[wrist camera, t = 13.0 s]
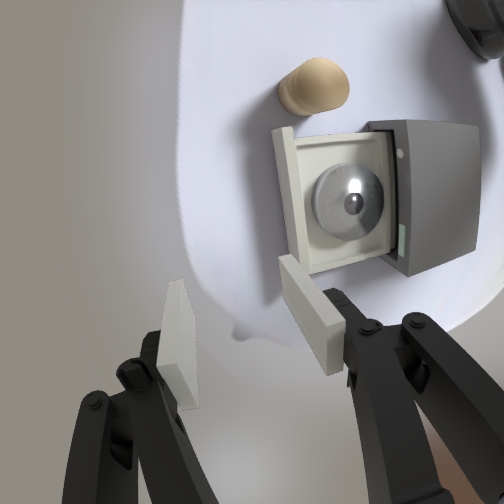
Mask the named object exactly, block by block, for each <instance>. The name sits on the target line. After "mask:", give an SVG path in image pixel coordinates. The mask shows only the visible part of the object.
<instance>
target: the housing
mask: <svg viewBox="0 0 504 504" xmlns="http://www.w3.org/2000/svg"><path fill="white" fill-rule="evenodd" d="M368 125H369V132H391V140H392V150H393V162H394V178H395V248H392V249H390V253H386V254H383V255H379V256H378V257H380V258H381V259H383V260H384V261H386V262H387V263H388V264H390V265H391V266H393V267H394V268H396V269H397V270H398V271H400V272H401V273H403V274H404V275H405V276H407V277H410V276H413V275H415V274H418V273H421V272H423V271H426V270H428V269H431V268H434V267H436V266H439V265H441V264H444V263H446V262H448V261H451V260H453V259H456V258H458V257H461V256H463V255H465V254H468V253H470V252H472V251H474V250H475V249H476V242H477V234H478V224H479V213H480V197H481V149H480V134H479V126H476V125H468V124H460V123H450V122H439V121H426V120H384V121H369V122H368Z"/></svg>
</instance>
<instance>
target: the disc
mask: <svg viewBox="0 0 504 504" xmlns="http://www.w3.org/2000/svg"><path fill="white" fill-rule="evenodd" d="M311 208H312V212H313V215H314V218H315V220H316V222H317V223H318V224H319V226H320V227H321V228H322V229H324V230H325V231H326V232H328V233H329V234H331V235H332V236H333V237H335V238H337V239H340V240H343V241H354V240H358V239H360V238H363V237H364V236H366V235H367V234H369V233H370V232H371V231H372V230H373V229H374V228H375V227H376V225H377V224H378V222H379V220H380V218H381V215H382V213H383V209H384V191H383V187H382V184H381V182H380V180H379V179H378V177H377V176H376V175H375V174H374V173H373V172H372V171H371V170H370V169H368V168H366V167H364V166H361V165H355V164H349V163H341V164H336V165H334V166H331V167H330V168H328V169H327V170H325V171H324V172H323V173H322V174H321V175H320V177H319V178H318V179H317V181H316V183H315V185H314V188H313V191H312V196H311Z"/></svg>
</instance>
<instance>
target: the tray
mask: <svg viewBox="0 0 504 504" xmlns="http://www.w3.org/2000/svg"><path fill="white" fill-rule="evenodd" d="M271 134H272V140H273V146H274V152H275V158H276V165H277V171H278V178H279V184H280V191H281V198H282V205H283V212H284V219H285V227H286V234H287V242H288V250H289V254H292V256H293V257H294V258H295V259H296V260H297V262H298V263H299V264H300V265H301V266H302V268H303V269H304V270H305V271H306V272H307V274H308V275H309V276H310V274H314V273H318V272H322V271H325V270H329V269H333V268H336V267H340V266H344V265H347V264H351V263H355V262H358V261H362V260H365V259H369V258H372V257H376V256H379V255H383V254H386V253H390V249H392V248H395V178H394V162H393V150H392V140H391V132H367V133H349V134H335V135H323V136H313V137H303V138H295V139H294V135H293V128H292V126H289V127H281V128H277V129H273V130H271ZM341 163H349V164H355V165H361V166H364V167H366V168H368V169H370V170H371V171H372V172H373V173H374V174H375V175H376V176H377V177H378V179H379V180H380V182H381V184H382V187H383V191H384V209H383V213H382V215H381V218H380V220H379V222H378V224H377V225H376V227H375V228H374V229H373V230H372V231H371V232H370V233H369V234H367V235H366V236H364V237H363V238H360V239H358V240H354V241H343V240H340V239H337V238H335V237H333V236H332V235H331V234H329V233H328V232H326V231H325V230H324V229H322V228H321V227H320V226H319V224H318V223H317V222H316V220H315V218H314V215H313V212H312V208H311V196H312V191H313V188H314V185H315V183H316V181H317V179H318V178H319V177H320V175H321V174H322V173H323V172H324V171H325V170H327V169H328V168H330V167H331V166H334V165H336V164H341Z"/></svg>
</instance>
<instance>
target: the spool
mask: <svg viewBox="0 0 504 504" xmlns="http://www.w3.org/2000/svg"><path fill="white" fill-rule="evenodd" d="M348 95H349V82H348V79H347V76H346V74H345V73H344V71H343V70H342V69H341V68H340V67H339V66H338V65H337V64H336V63H334V62H332V61H330V60H328V59H324V58H313V59H310V60H308V61H306V62H305V63H303V64H302V65H300V66H299V67H298V68H296V69H295V70H294V71H292V72H291V73H290V74H288V75H287V76H286V77H284V78H283V79H282V81H281V82H280V84H279V87H278V98H279V100H280V103H281V104H282V106H283V107H284V108H285V109H286V110H287V111H288V112H290V113H292V114H294V115H297V116H308V115H312V114H316V113H320V112H325V111H329V110H333V109H336V108H339V107H340V106H342V105H343V104H344V103H345V101H346V100H347V98H348Z"/></svg>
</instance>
